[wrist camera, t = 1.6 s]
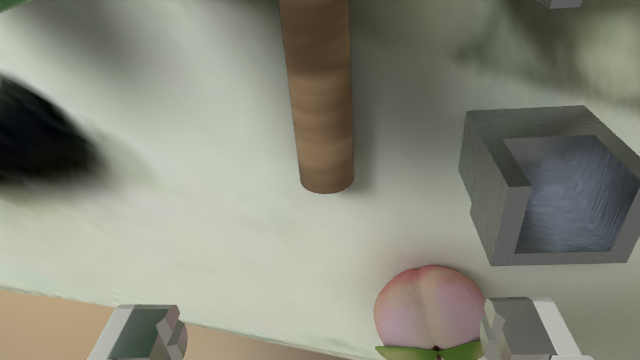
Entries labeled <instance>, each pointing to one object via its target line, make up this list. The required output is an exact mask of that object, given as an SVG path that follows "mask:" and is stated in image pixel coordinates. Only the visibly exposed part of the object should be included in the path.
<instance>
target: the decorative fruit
mask: <svg viewBox="0 0 640 360" xmlns="http://www.w3.org/2000/svg"><path fill="white" fill-rule="evenodd" d="M484 305H485V299H484V296H483V294H482V292H481V290H480V288H479V287H478V286H477V285H476V283H475V282H473V281H472V280H471V279H470V278H469V277H467V276H466V275H464V274H462V273H460V272H458V271H456V270H453V269H449V268H446V267H442V266H436V265H427V266H424V267H422V268H419V269H408V270H406V271H404V272H402V273H400V274H399V275H397V276H396V277H394V278H393V279H392V280H391V281H390V282H389V283H387V285H386V286H385V287H384V288H383V289H382V290H381V292H380V293H379V295H378V297H377V299H376V301H375V305H374V320H375V324H376V328H377V331H378V334H379V336H380V339H381V341H382V342H383V344H384V346H376V347H375V349H376V350H377V351H378V352H379V353H380V354H381V355H382V356H383V357H384V358H386V359H387V360H477V359H479V358H480V357H482V356H483V355H484V352H483V349H482V345H481V340H480V323H481V319H482V318H483V317H484V316H486V313H485V310H484Z"/></svg>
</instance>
